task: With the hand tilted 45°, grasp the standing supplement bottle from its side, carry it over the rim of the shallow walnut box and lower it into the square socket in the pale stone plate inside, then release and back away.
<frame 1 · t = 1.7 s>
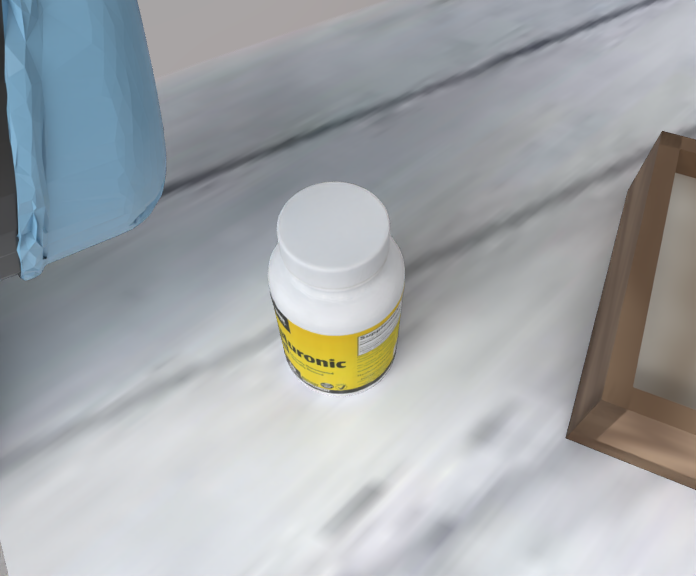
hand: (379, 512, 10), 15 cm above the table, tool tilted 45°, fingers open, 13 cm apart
supplement bottle: (340, 350, 29), on the table
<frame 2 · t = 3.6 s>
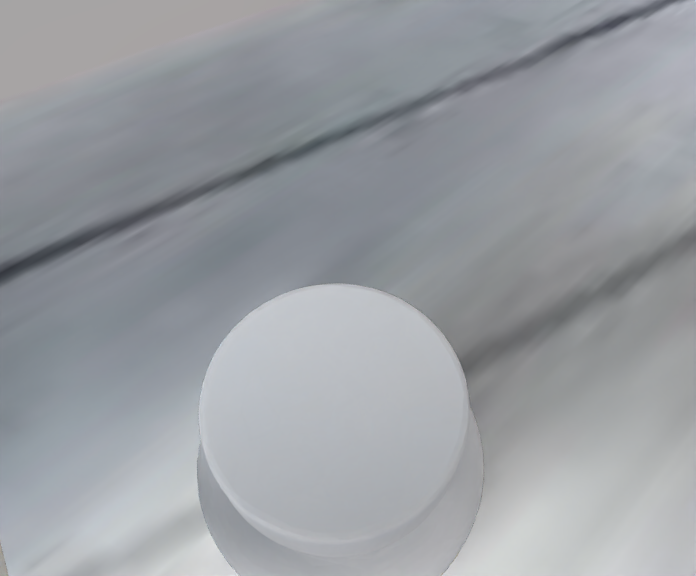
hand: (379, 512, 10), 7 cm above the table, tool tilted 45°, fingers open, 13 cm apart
supplement bottle: (346, 526, 17), on the table
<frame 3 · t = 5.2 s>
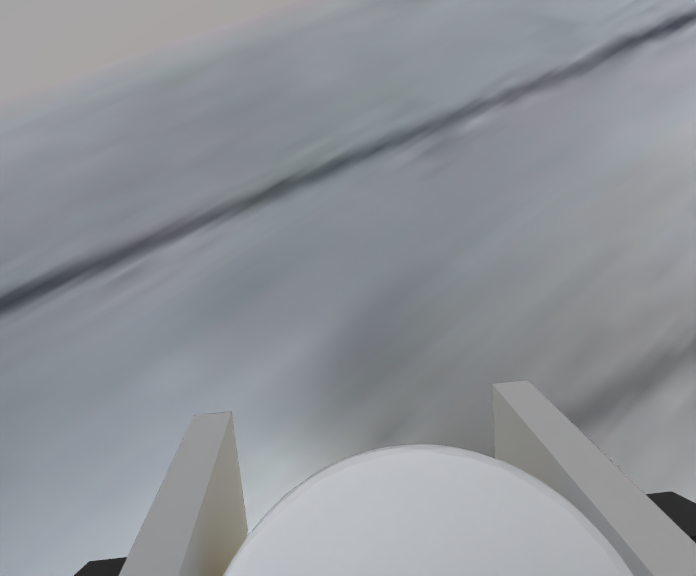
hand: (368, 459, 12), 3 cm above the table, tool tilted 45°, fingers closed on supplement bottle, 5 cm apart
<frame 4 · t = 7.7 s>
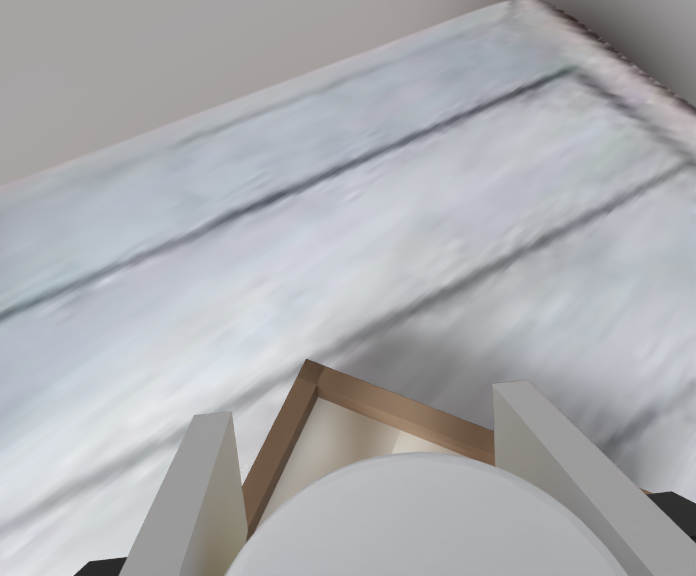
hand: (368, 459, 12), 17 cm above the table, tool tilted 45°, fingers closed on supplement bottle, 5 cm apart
when the fingers open (5 cm above the table, at t = 10.3 s): supplement bottle stays where it is, resting on socket box.
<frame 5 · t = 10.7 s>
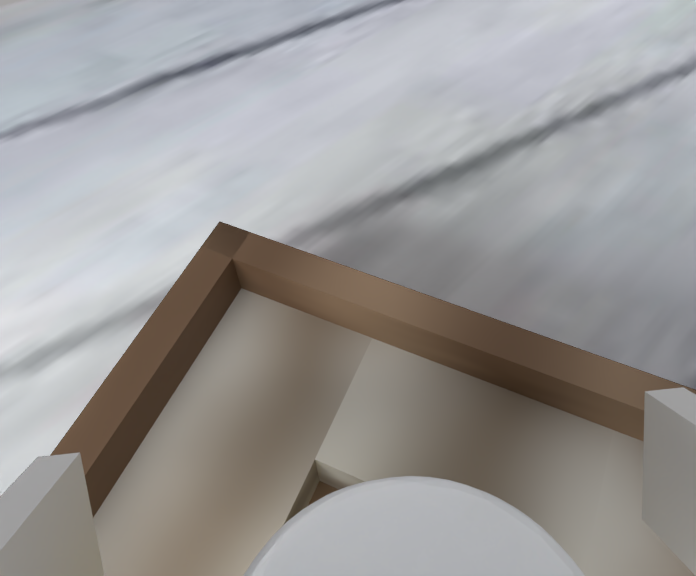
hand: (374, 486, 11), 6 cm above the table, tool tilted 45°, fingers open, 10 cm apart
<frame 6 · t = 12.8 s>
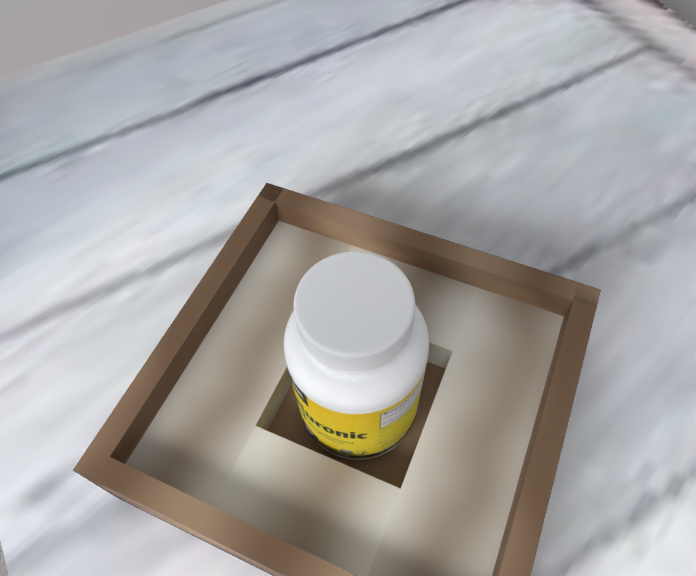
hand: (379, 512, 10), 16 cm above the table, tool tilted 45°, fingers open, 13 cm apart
socket box: (358, 411, 28), on the table
supplement bottle: (358, 407, 27), point 1 cm above the table, touching socket box
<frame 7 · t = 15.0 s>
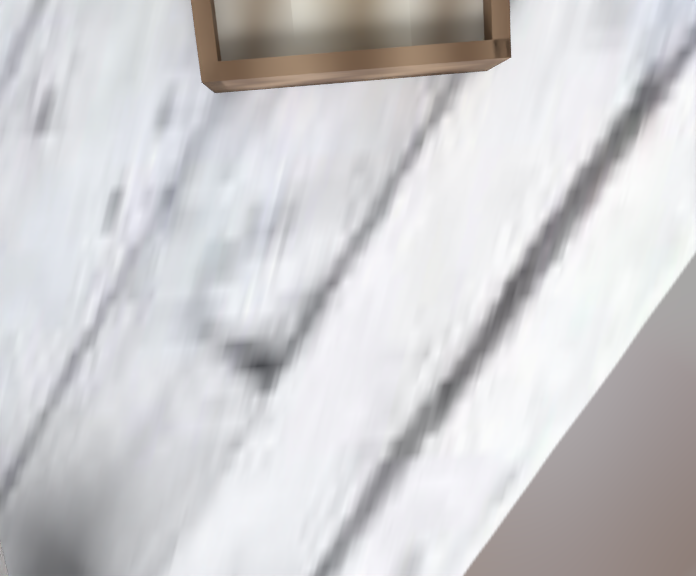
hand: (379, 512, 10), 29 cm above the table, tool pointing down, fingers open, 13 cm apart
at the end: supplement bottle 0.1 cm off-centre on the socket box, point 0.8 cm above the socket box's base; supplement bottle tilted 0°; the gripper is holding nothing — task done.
